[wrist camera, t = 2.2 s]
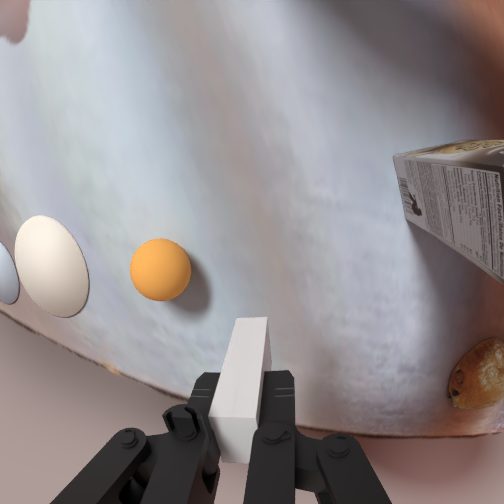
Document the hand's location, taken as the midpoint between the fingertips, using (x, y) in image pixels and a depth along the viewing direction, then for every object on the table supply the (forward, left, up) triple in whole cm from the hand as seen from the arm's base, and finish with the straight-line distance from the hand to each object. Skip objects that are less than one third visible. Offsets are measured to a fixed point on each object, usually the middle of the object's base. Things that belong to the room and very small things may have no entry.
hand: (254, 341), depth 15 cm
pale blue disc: (+38, 0, -14) cm, 41 cm away
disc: (+26, 0, -14) cm, 30 cm away
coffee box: (-17, -6, -14) cm, 23 cm away
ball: (+9, 0, -11) cm, 14 cm away
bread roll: (-26, +18, -14) cm, 35 cm away
